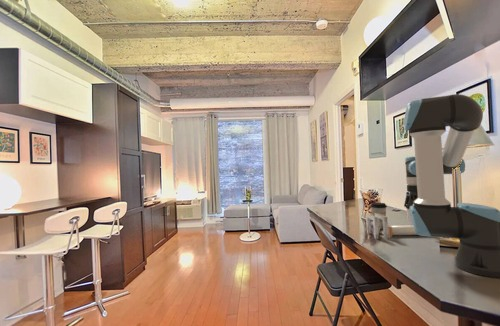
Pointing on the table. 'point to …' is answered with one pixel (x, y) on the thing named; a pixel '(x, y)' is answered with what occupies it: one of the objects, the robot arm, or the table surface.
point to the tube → (401, 230)
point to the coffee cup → (379, 211)
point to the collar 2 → (385, 224)
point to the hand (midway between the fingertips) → (417, 223)
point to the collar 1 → (375, 224)
